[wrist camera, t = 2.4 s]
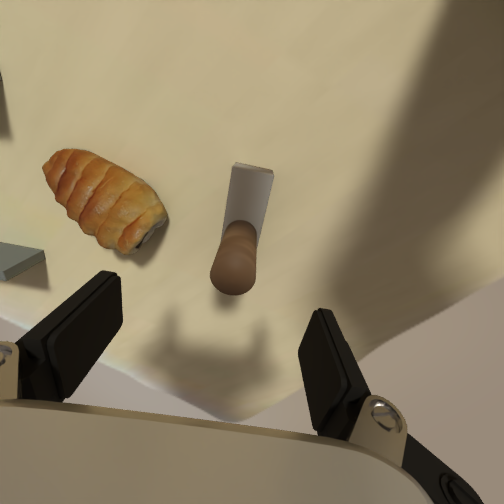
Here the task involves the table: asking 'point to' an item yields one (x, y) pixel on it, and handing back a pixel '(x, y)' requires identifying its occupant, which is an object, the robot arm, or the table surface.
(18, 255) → the u-shaped bracket
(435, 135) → the table surface
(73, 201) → the pastry
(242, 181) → the stamp with brown handle
